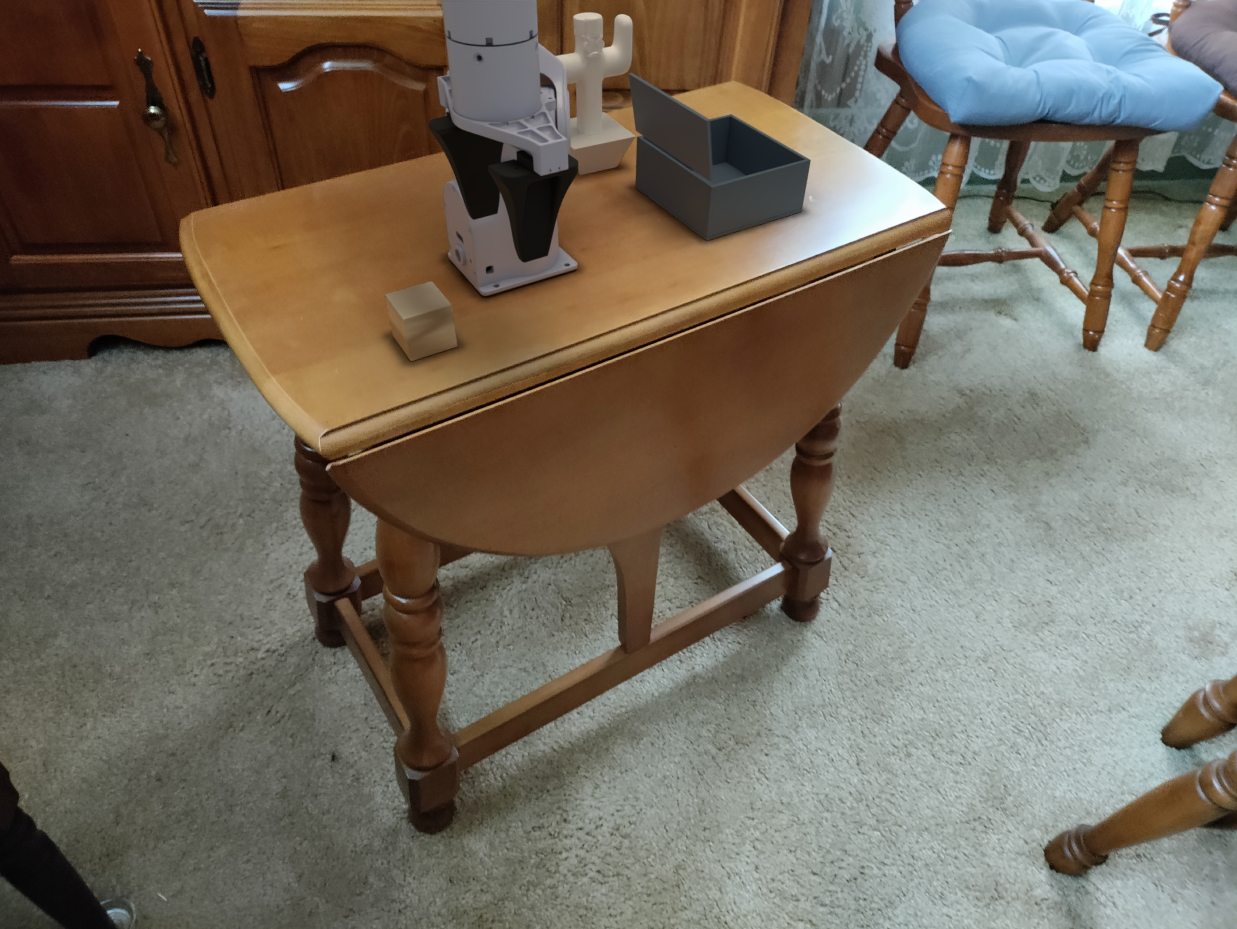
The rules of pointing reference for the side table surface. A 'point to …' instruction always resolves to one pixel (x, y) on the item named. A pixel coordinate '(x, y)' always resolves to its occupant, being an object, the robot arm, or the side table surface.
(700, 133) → the flap
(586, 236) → the side table surface
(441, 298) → the block
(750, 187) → the carton
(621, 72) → the figurine
